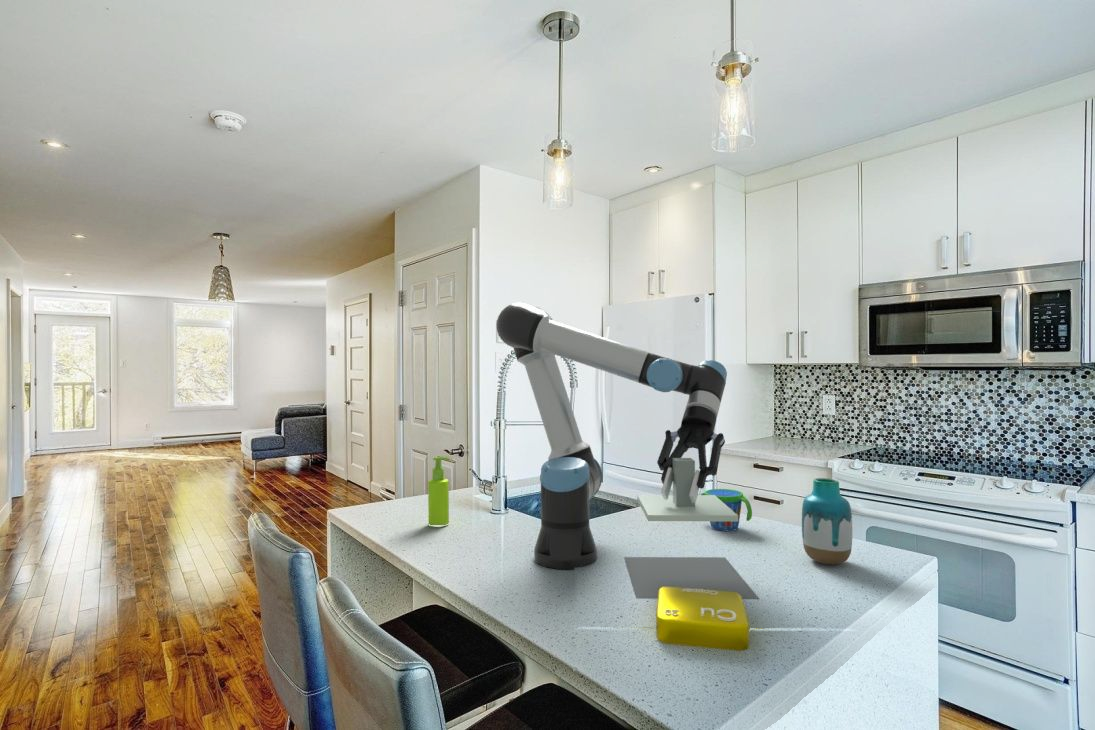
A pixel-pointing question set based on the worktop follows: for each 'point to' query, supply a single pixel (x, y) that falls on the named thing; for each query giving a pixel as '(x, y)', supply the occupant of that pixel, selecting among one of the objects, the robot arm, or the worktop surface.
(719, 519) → the sage lid
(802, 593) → the worktop surface
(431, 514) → the soap dispenser
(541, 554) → the robot arm
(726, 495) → the snack cup
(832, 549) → the vase
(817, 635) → the worktop surface
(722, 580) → the rubber mat
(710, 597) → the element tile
